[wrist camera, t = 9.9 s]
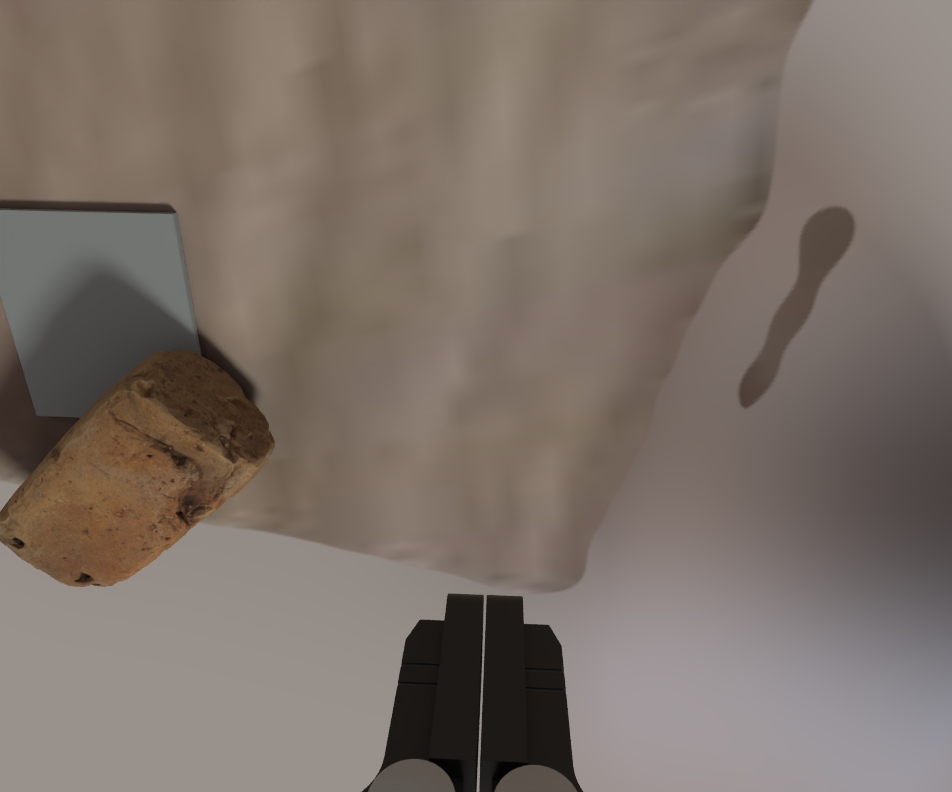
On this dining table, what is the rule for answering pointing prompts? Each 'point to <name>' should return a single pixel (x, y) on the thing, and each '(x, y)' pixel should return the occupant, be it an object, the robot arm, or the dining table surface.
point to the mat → (91, 299)
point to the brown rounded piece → (137, 471)
